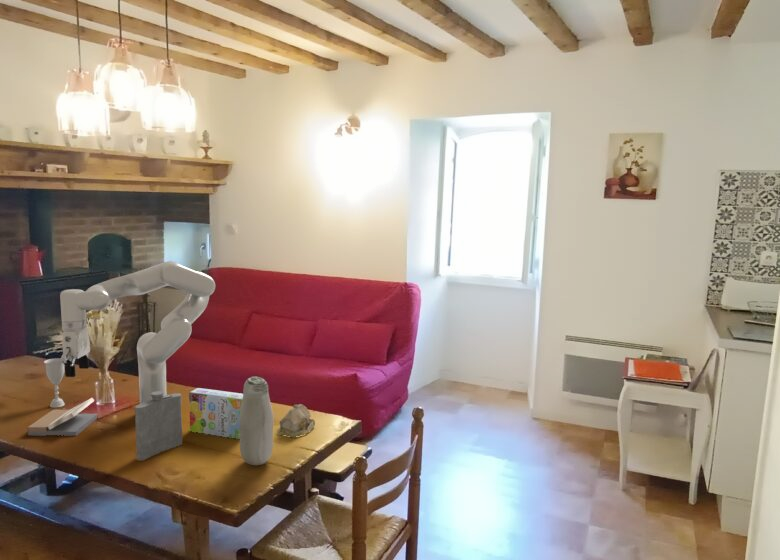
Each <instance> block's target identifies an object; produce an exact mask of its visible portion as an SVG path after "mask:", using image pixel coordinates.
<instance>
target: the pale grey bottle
mask: <svg viewBox="0 0 780 560" xmlns="http://www.w3.org/2000/svg"><path fill="white" fill-rule="evenodd" d="M242 389H243V392H242V394H243V400H242V404H241V409H240V414H239V432H240V440H239V452H240V455H241V457H242V459H243V461H244V462H245V463H246V464H249V465H251V466H261V465H264V464H266V463H267V462H268V461H269V459H270V458H271V456H272V453H273V448H274V411H273V407H272V402H271V399H270V393H269V384H268V382H267V381H266V379H264V378H263V377H259V376H251V377H249V378H247V379H246V380H245V382H244V384H243V388H242Z"/></svg>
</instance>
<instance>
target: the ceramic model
mask: <svg viewBox="0 0 780 560" xmlns="http://www.w3.org/2000/svg"><path fill="white" fill-rule="evenodd" d="M292 406H293V407H292V408H290V409H289V411H288V412H287V413H286V414H285V415H284V416H283V417H282V418H281V419H280V420H279V428H277V429H276V432H277V434H278V435H277V434H276V435H277V436H279V435H286V436H290V437H296V436H300V435H304V434H306V433H308V432H309V431H310V432H311V431H313V430H314V427H315V426H316V421H315V419H313V418H311V417H312V416H311V413H310V411H309V410H308V407H306V406H305V405H304V404H301V403H299V404H297V403H295V404H294V405H292ZM310 432H309V433H310ZM309 433H308V434H309ZM306 435H307V434H306Z"/></svg>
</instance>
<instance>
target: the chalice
mask: <svg viewBox="0 0 780 560" xmlns="http://www.w3.org/2000/svg"><path fill="white" fill-rule="evenodd" d="M43 363H44V364H45V373H46V376H47V378H48V380H49V381H50V383H51V384H52V385H54V388H53V390H54V393H53V394H54V395H55V397H54V399H52V400H51V402H50V405H49V407H50V408H52V409H53V408H54V409H56V408H60V407H63V406H65V405H66V403H65V402H64V400H63V398H60V397H59V394H60V391H59V384H60V383H61V381H62V379H63V377H64V376H65V366H64V364H63V361H62V358H59V357H58V358H49V359H47V360H44V361H43Z"/></svg>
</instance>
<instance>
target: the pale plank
mask: <svg viewBox="0 0 780 560" xmlns="http://www.w3.org/2000/svg"><path fill="white" fill-rule="evenodd" d="M94 402H95V399H94V398H93V397H90V398H89V399H87V400H85V401H83V402H81V403H79V404H78V405H76V406H74V407H72V408H70V409H68V410H69V411H67V412H66V413H65V414H63V415H62V416H60V417H59V418H58V419H56V420H55V421H54V422H52V423H51V424H50V425H48V426H47V427H48V428H49V430H50V429H52V428H54V427H56V426H58V425H59V424H61V423H63V422H65V421H67V420H69V419H71V418H72V417H74V416H75V415H77V414H80V413H81V412H82V411H83V410H85V409H86V408H88V406H90V405H91V404H92V403H94Z"/></svg>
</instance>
